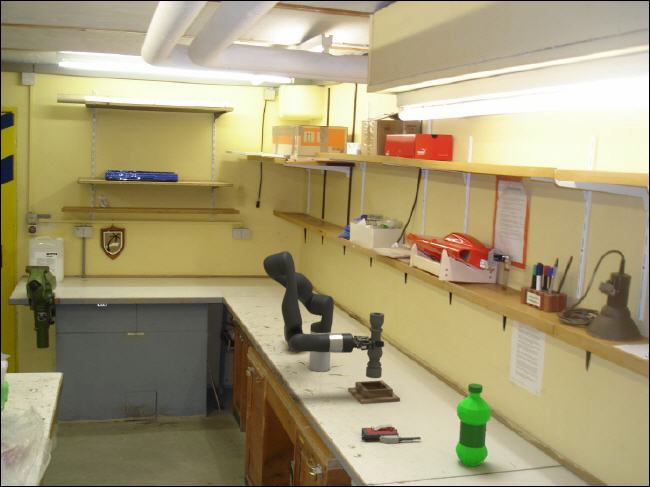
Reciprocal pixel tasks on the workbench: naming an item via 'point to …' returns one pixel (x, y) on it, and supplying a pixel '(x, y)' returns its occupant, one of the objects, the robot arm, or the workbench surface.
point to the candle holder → (375, 354)
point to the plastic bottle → (473, 427)
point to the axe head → (285, 335)
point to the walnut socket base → (373, 392)
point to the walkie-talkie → (383, 434)
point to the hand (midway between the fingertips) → (382, 342)
